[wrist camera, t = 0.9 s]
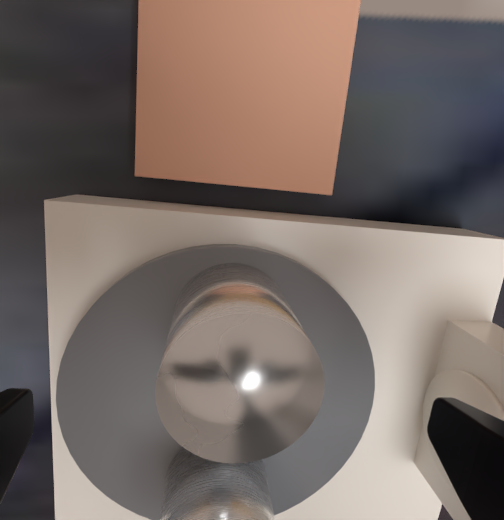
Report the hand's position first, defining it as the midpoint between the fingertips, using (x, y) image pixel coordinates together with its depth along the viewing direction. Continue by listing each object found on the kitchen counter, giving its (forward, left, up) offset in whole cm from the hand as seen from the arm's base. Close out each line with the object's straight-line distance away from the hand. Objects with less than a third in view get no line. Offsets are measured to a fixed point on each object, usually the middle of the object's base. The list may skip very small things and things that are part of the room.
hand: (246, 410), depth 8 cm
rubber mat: (+9, 0, -9) cm, 12 cm away
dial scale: (-3, -2, -9) cm, 10 cm away
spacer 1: (0, 0, -5) cm, 5 cm away
